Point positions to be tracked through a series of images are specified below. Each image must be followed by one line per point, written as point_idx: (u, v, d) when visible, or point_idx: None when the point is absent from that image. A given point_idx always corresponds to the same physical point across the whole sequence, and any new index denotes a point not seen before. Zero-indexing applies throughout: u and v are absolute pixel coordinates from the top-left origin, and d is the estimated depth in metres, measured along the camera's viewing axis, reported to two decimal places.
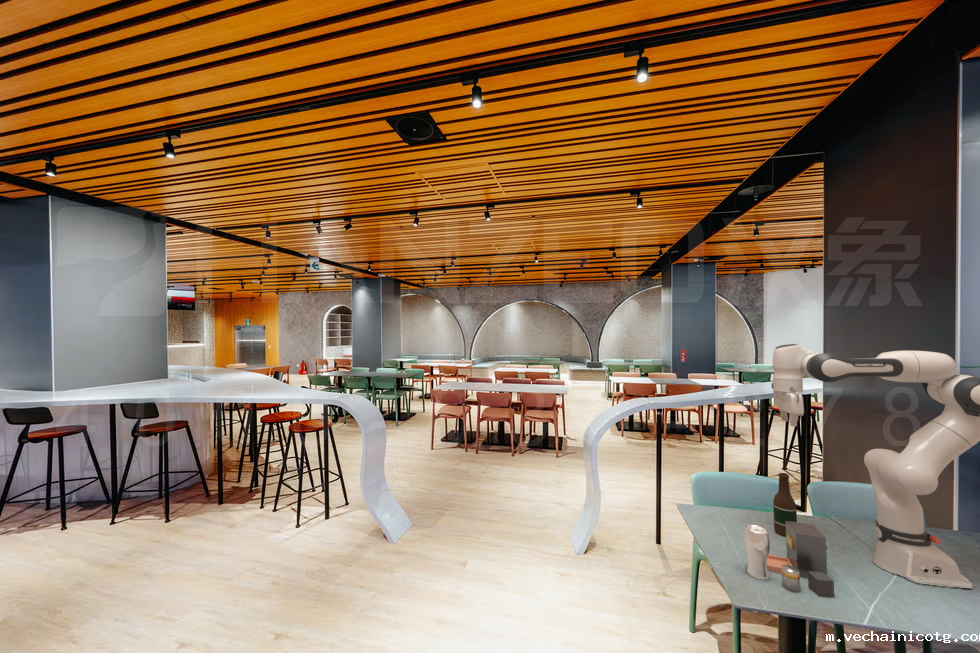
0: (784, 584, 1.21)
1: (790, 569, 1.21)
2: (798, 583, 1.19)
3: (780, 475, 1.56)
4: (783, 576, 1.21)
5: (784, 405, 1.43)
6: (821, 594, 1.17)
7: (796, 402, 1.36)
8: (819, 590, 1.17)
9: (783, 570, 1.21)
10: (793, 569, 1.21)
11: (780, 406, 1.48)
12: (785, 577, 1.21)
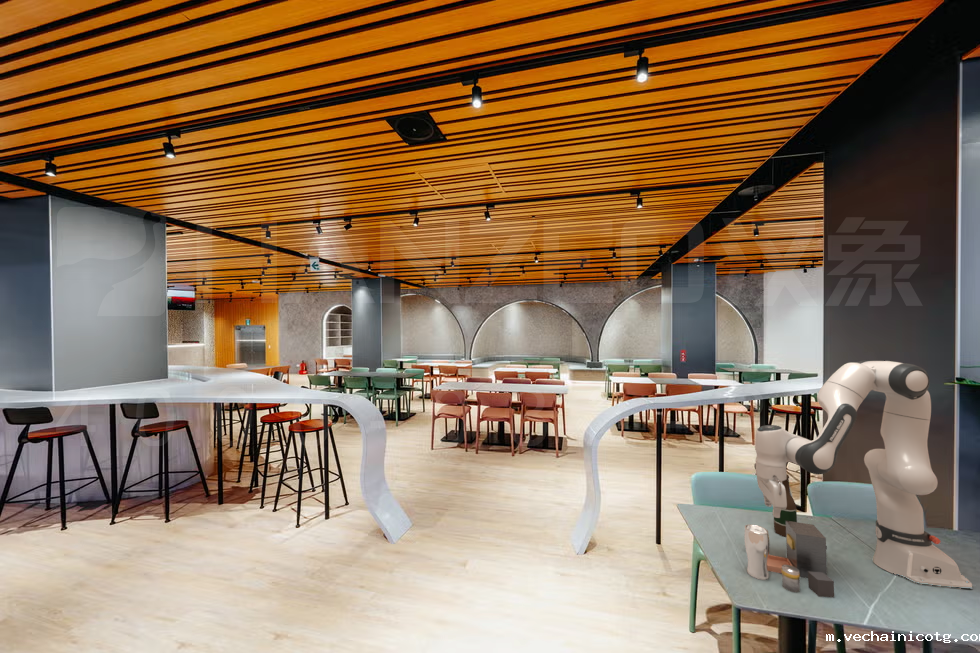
0: (784, 584, 1.21)
1: (790, 569, 1.21)
2: (798, 583, 1.19)
3: None
4: (783, 576, 1.21)
5: (767, 492, 1.34)
6: (821, 594, 1.17)
7: (779, 494, 1.27)
8: (819, 590, 1.17)
9: (783, 570, 1.21)
10: (793, 569, 1.21)
11: (763, 491, 1.38)
12: (785, 577, 1.21)
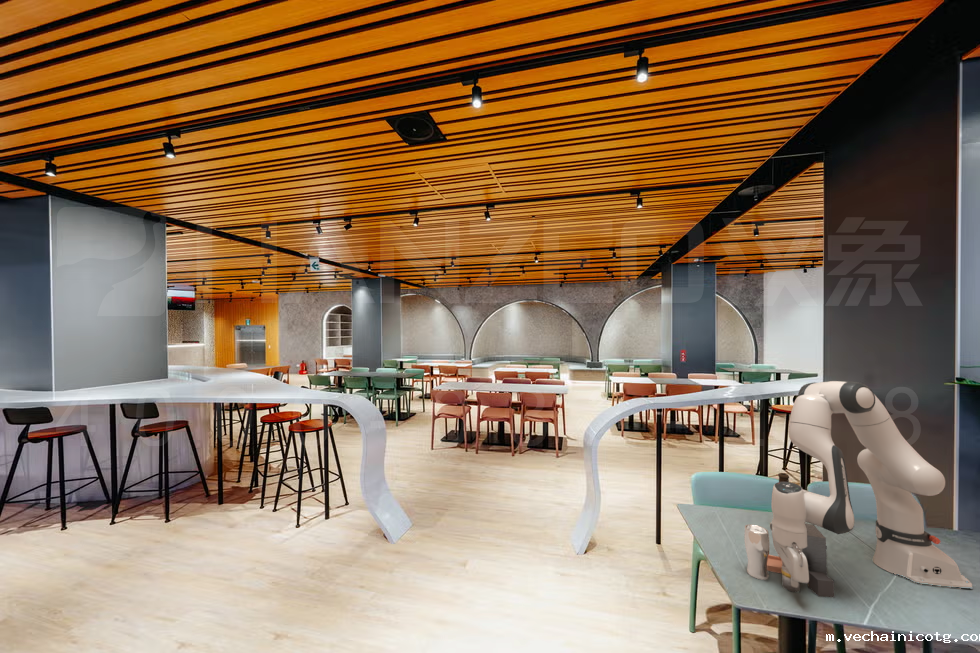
0: (784, 584, 1.21)
1: None
2: (798, 583, 1.19)
3: (780, 475, 1.56)
4: (783, 576, 1.21)
5: (785, 560, 1.20)
6: (821, 594, 1.17)
7: (800, 567, 1.13)
8: (819, 590, 1.17)
9: (783, 570, 1.21)
10: None
11: (780, 556, 1.24)
12: (785, 577, 1.21)
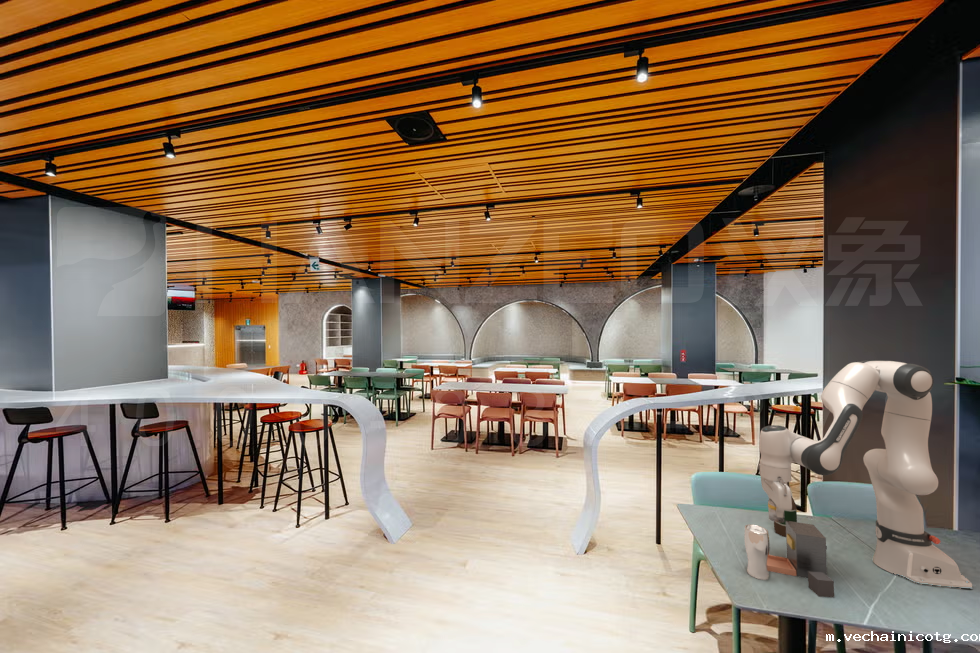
0: (770, 516, 1.33)
1: None
2: (783, 514, 1.31)
3: None
4: (769, 509, 1.33)
5: (771, 494, 1.32)
6: (821, 594, 1.17)
7: (784, 496, 1.24)
8: (819, 590, 1.17)
9: (769, 503, 1.33)
10: None
11: (767, 492, 1.36)
12: (771, 510, 1.33)
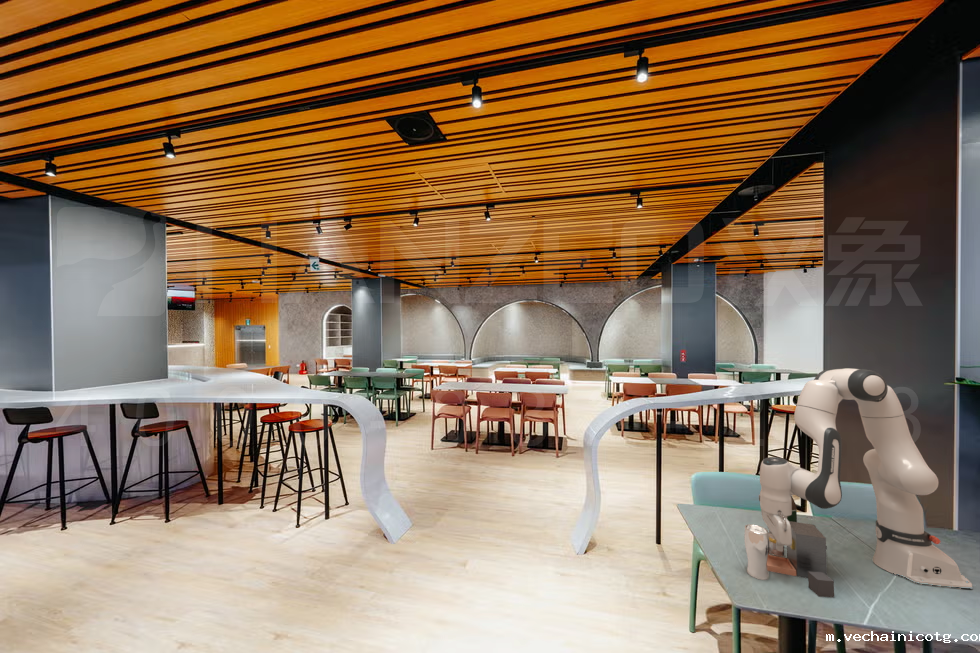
0: (770, 549, 1.33)
1: None
2: (783, 548, 1.31)
3: None
4: (769, 542, 1.33)
5: (771, 527, 1.32)
6: (821, 594, 1.17)
7: (784, 531, 1.24)
8: (819, 590, 1.17)
9: (769, 536, 1.33)
10: None
11: (767, 524, 1.36)
12: (771, 543, 1.32)
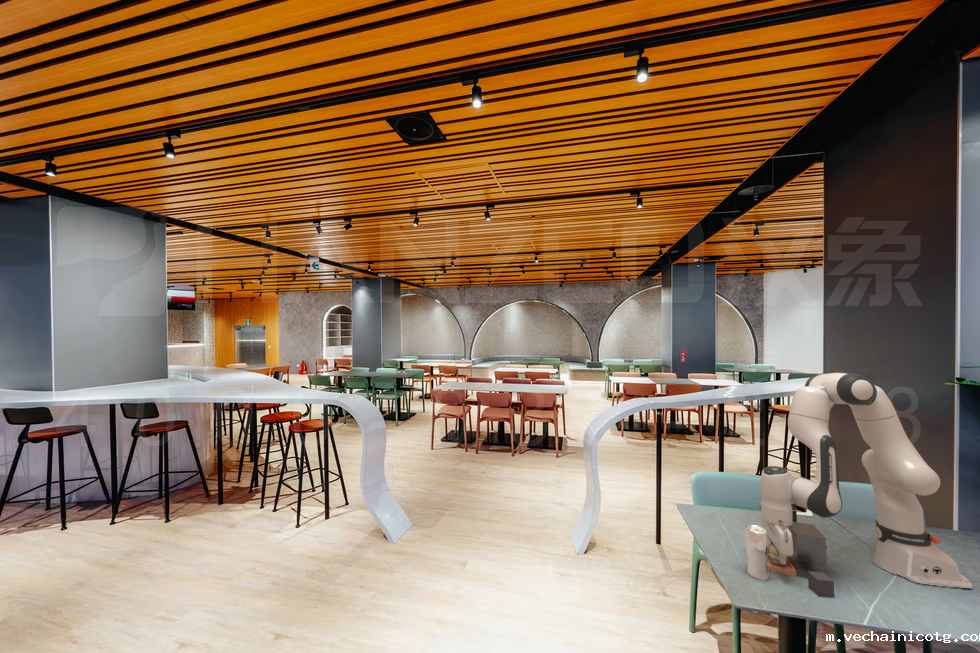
0: (771, 561, 1.32)
1: None
2: None
3: None
4: (771, 554, 1.33)
5: (772, 537, 1.32)
6: (821, 594, 1.17)
7: (785, 541, 1.24)
8: (819, 590, 1.17)
9: (771, 548, 1.33)
10: None
11: None
12: (772, 555, 1.32)
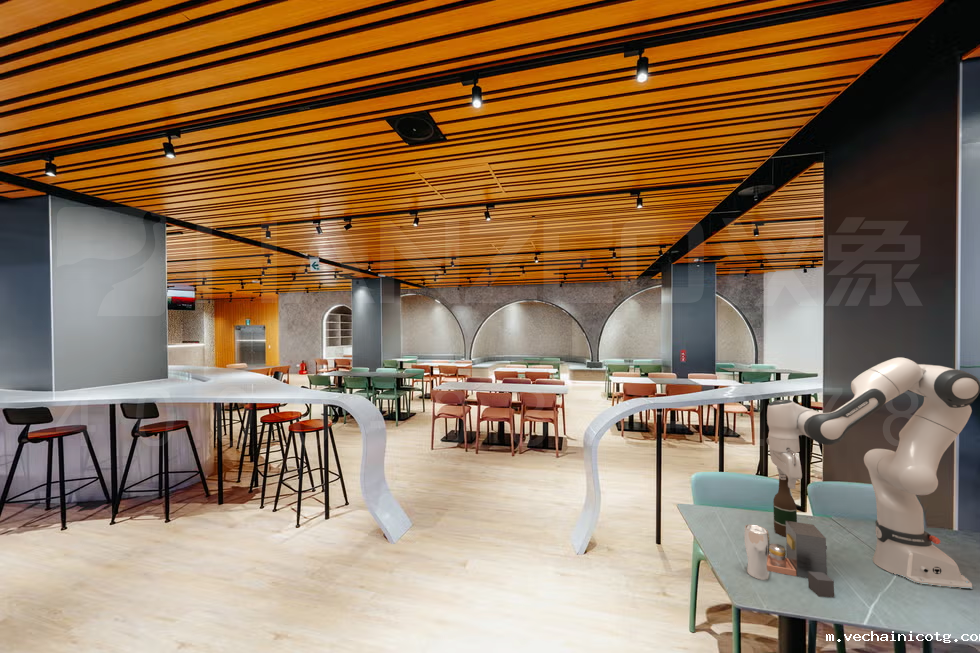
0: (772, 561, 1.32)
1: (777, 547, 1.32)
2: (784, 559, 1.31)
3: None
4: (771, 554, 1.33)
5: (781, 465, 1.37)
6: (821, 594, 1.17)
7: (793, 465, 1.30)
8: (819, 590, 1.17)
9: (770, 548, 1.33)
10: (779, 547, 1.32)
11: (777, 464, 1.42)
12: (772, 555, 1.32)
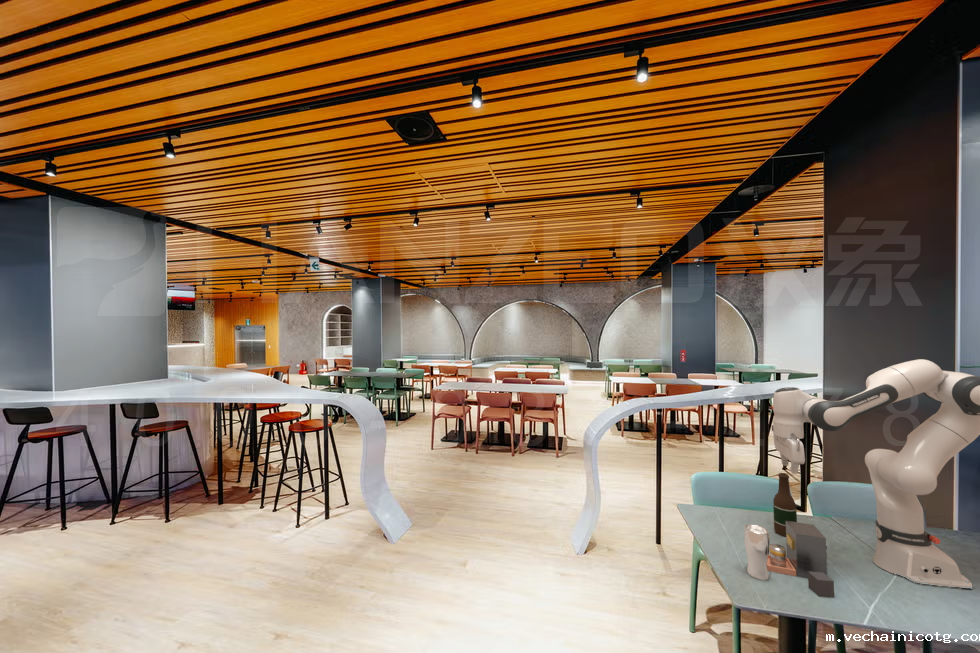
0: (772, 561, 1.32)
1: (777, 547, 1.32)
2: (784, 560, 1.30)
3: (780, 475, 1.56)
4: (771, 554, 1.32)
5: (784, 451, 1.40)
6: (821, 594, 1.17)
7: (797, 450, 1.32)
8: (819, 590, 1.17)
9: (771, 548, 1.32)
10: (780, 547, 1.32)
11: (780, 450, 1.44)
12: (772, 555, 1.32)
